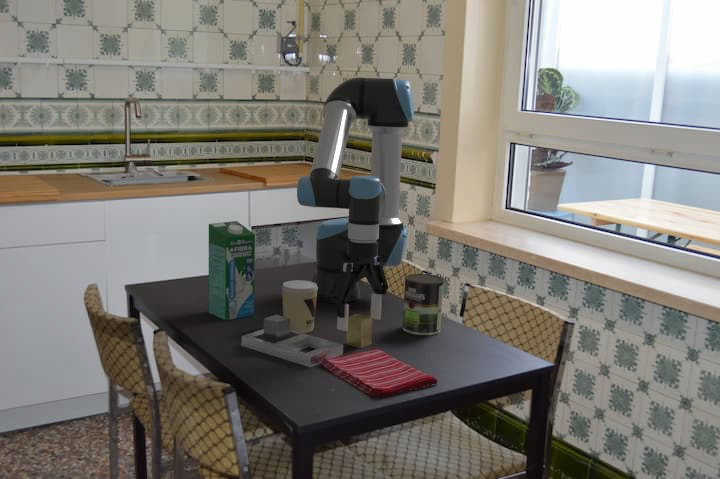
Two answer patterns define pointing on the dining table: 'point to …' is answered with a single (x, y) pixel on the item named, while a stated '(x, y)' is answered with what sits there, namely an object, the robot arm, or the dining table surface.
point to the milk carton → (231, 270)
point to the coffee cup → (300, 304)
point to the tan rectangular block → (359, 330)
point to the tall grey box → (276, 328)
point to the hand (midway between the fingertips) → (359, 324)
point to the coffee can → (422, 304)
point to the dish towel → (377, 373)
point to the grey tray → (294, 347)
